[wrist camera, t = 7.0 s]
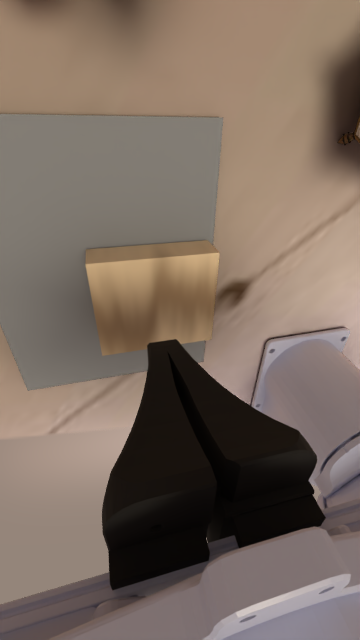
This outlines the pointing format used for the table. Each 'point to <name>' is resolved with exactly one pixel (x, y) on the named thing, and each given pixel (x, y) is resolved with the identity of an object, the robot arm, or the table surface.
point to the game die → (351, 135)
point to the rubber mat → (91, 225)
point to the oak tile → (152, 293)
